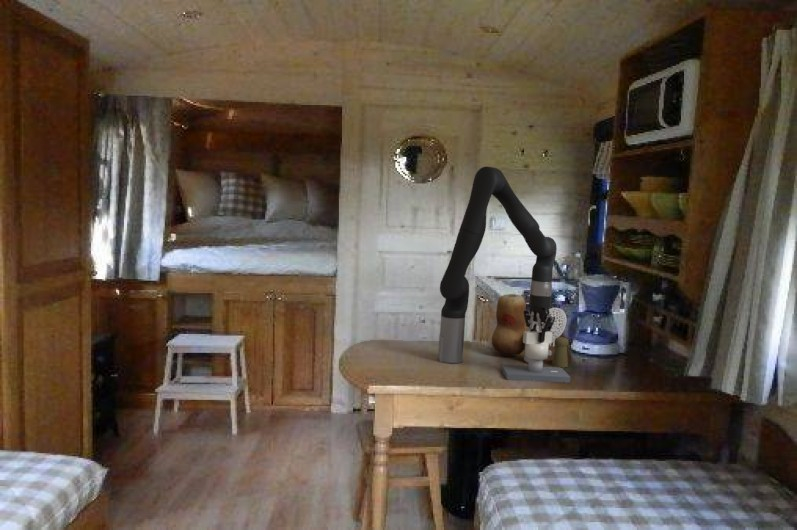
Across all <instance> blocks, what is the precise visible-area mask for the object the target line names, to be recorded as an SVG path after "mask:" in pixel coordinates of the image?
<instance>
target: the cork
mask: <svg viewBox="0 0 797 530" xmlns="http://www.w3.org/2000/svg"><path fill="white" fill-rule="evenodd" d="M568 346H569V339H568V338H566V337H564V336H559V337H557V338H556V339H555V343H554V347H555V348H554V353H553V358H552V362H551V366H552V365H553V366H552V367H554V366H556V367H563V368H562V369H565V368H564V367H567V368H568V367H569V365H568V364H569V363H568Z"/></svg>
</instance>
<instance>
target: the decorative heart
mask: <svg viewBox="0 0 797 530" xmlns="http://www.w3.org/2000/svg"><path fill="white" fill-rule="evenodd" d="M549 313H550V315H551V316H552V317H555V321H554V323H553V325H552V328H551V330H550V332H552V342H551V343H549V347H550V346H551V347H555V339H556V338H557V337H561V335H562V334H563V333H564V331H565V329H566V326H567V321H568V320H567V314H566V313H565V311H564V310H563V309H562V308H559V307H552V308H551V307H550V308H549ZM528 321H529V320H528ZM529 323H530V322H529ZM541 323H543V322H541ZM525 327H526V329H527V331H530V328H529V327H527V326H526V325H525ZM542 329H543V326H542ZM536 330H537V331H539V326H538V325H537V329H536Z"/></svg>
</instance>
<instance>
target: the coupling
mask: <svg viewBox="0 0 797 530" xmlns="http://www.w3.org/2000/svg"><path fill="white" fill-rule="evenodd" d="M552 334H553V333H552V332H551V331H548V332H545V340H544V342H543V343H539V342H538V335H539V331H528V330H525V331H524V335H523V343H525V344H526V346H525V350H524V352H525V357H527V358H531V359H537V360H543V361H545V360H548V356H552V353H553V352H552V350H550V349H549V347H550V344H549V343H551V342H552ZM552 343H553V342H552ZM552 343H551V344H552Z"/></svg>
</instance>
